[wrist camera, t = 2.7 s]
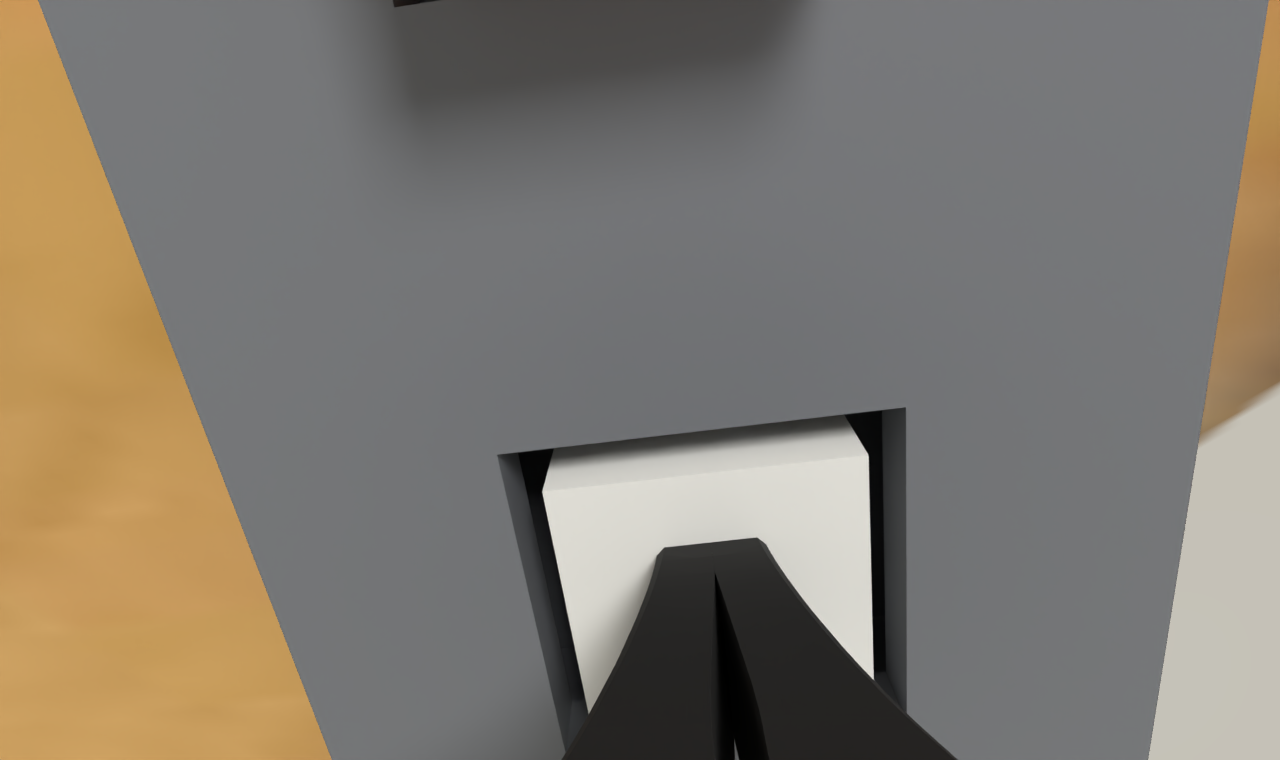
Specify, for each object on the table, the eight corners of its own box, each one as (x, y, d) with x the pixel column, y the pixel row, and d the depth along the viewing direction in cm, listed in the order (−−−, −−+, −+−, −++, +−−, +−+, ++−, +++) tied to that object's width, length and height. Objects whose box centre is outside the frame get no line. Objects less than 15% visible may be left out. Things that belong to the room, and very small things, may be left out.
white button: (803, 347, 13) (868, 454, 9) (814, 544, 14) (874, 708, 10) (573, 375, 13) (542, 492, 9) (607, 566, 14) (592, 734, 10)
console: (1064, -753, 9) (1543, -1726, 4) (995, 610, 16) (1137, 825, 11) (107, -555, 9) (-423, -1191, 5) (455, 663, 17) (380, 886, 12)
